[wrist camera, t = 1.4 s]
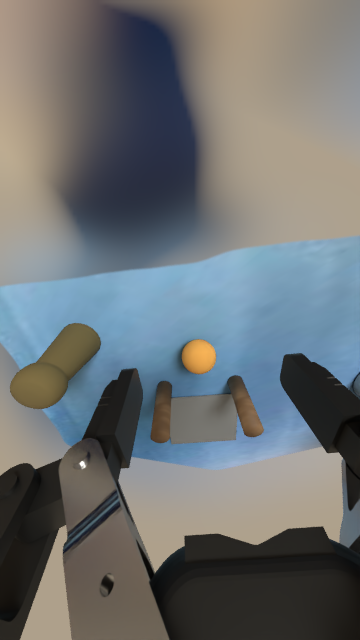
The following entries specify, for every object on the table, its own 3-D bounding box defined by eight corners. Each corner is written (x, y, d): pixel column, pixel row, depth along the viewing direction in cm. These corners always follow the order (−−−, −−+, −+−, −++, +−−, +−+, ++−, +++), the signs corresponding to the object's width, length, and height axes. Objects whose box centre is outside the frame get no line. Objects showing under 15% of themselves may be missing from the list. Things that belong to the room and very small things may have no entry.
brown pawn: (93, 361, 30) (52, 424, 20) (56, 346, 29) (-7, 405, 19) (106, 334, 28) (67, 390, 18) (67, 316, 27) (1, 366, 17)
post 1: (171, 380, 32) (168, 430, 24) (172, 391, 33) (170, 442, 25) (156, 381, 32) (149, 431, 24) (158, 392, 33) (152, 443, 25)
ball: (212, 331, 28) (219, 351, 23) (213, 358, 30) (219, 380, 26) (180, 334, 28) (180, 354, 24) (183, 360, 30) (183, 382, 26)
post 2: (242, 374, 32) (264, 424, 24) (242, 385, 33) (262, 436, 25) (227, 376, 32) (244, 425, 24) (227, 387, 33) (243, 437, 25)
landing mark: (238, 393, 34) (238, 393, 33) (235, 439, 40) (235, 439, 40) (163, 398, 34) (163, 399, 34) (171, 443, 40) (171, 444, 40)
